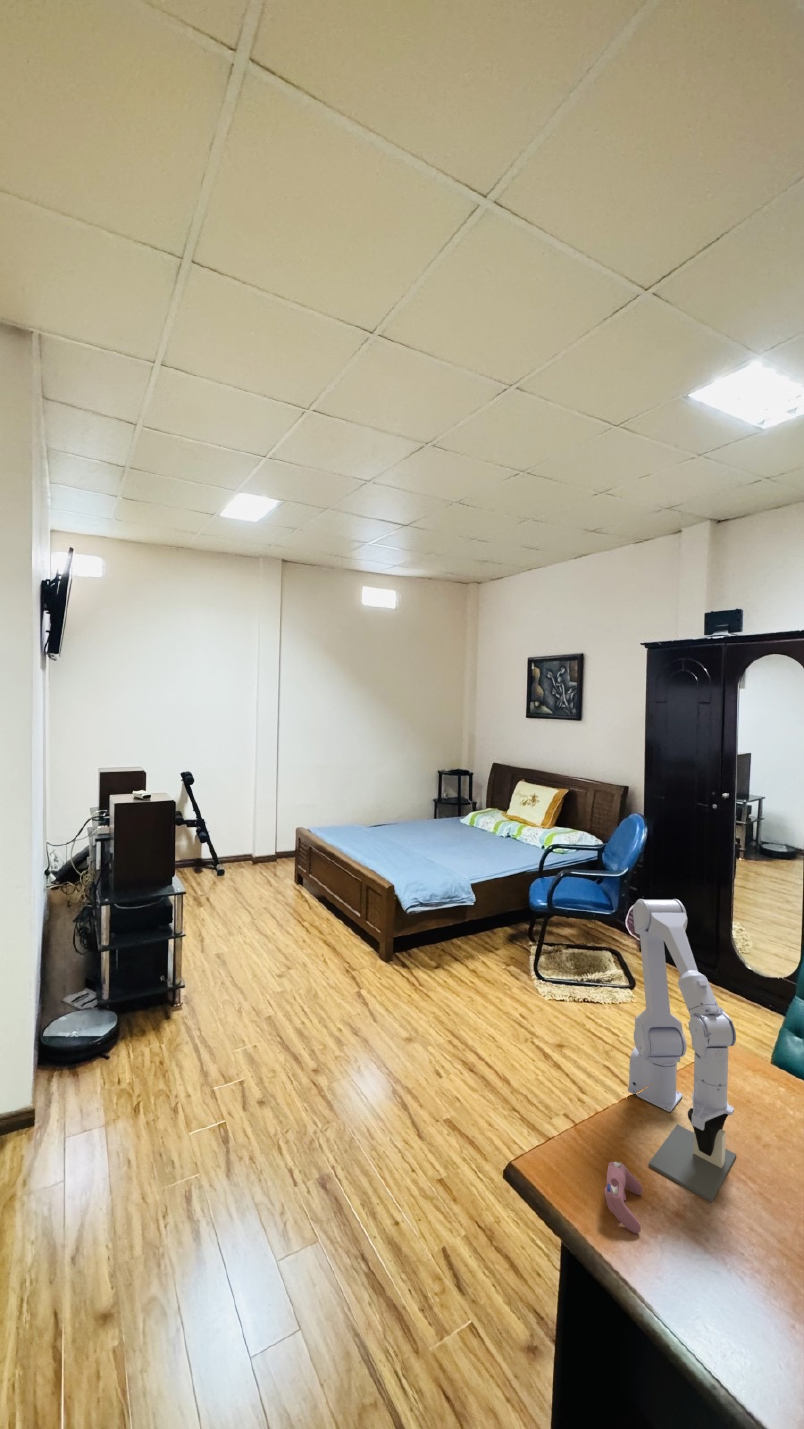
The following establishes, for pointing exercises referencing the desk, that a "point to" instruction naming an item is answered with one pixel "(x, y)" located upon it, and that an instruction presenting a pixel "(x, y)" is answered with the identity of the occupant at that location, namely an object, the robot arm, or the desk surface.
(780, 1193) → the desk surface
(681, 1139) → the mat
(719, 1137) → the block
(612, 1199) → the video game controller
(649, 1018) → the robot arm
